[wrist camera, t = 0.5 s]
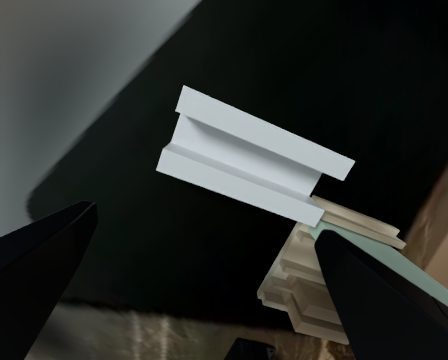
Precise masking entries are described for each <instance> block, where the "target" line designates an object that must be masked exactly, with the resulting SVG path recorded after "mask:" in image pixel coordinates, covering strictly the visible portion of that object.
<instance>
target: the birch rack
mask: <svg viewBox="0 0 448 360" xmlns="http://www.w3.org/2000/svg"><path fill="white" fill-rule="evenodd" d="M311 198H312V199H313V200H314V201H315V202H316V203H317V204H319V205H320V206H321V207H322V208H323V209H324V210H325V212H324V213H323V215H322V217H321V218H320V219H321V220H324V221H327V222H330V223H332V224H335V225H338V226H340V227H343V228H346V229H348V230H351V231H354V232H356V233H359V234H362V235H365V236H367V237H370V238H373V239H375V240H378V241H381V242H383V243H386V244H388V245H392V246H394V247H397V248H400V249H403V248H404V246H405V245H406V243H404V242H403V241H401V240H400V239H398V238H397V237H396V235H397V234H398V233H399V231H400V230H398V229H397V228H395V227H393V226H391V225H388V224H386V223H383V222H381V221H378V220H376V219H373V218H371V217H368V216H365V215H363V214H360V213H358V212H355V211H353V210H350V209H348V208H345V207H343V206H340V205H337V204H335V203H332V202H330V201H327V200H325V199H322V198H320V197H317V196H314V195H313V196H312V197H311ZM308 228H309V225H307V224H304V223H301V222H297V224H296V225H295V227H294V229H293V230H292V232H291V234H290V236H289V237H288V239H287V241H286V243H285V244H284V246H283V248H282V250H281V251H280V253H279V255H278V256H277V258H276V260H275V262H274V263H273V265H272V267H271V269H270V270H269V272H268V274H267V276H266V277H265V279H264V281H263V283H262V284H261V286H260V288H259V289H258V291H257V295H258V298H259V299H262V302H263V305H265V306H269V307H273V308H276V309H280V310H284V311H287V308H286V306H285V303H284V300H283V298H282V295H281V293H282V291H286V292H290V293H293V292H292V290H291V288H290V285H289V283H288V281H287V279H286V278H287V276H288V275H289V274H291V275H294V276H297V277H301V278H304V279H307V280H310V281H313V282H317V283H320V284H323V285H326V284H325V281H324V278H323V275H322V272H321V268H320V265H319V262H318V259H317V255H316V252H315V249H314V243H315V241H316V240H315V239H314V238H313V237H312V235H311V234H310V233H309V232H308ZM287 312H288V311H287Z"/></svg>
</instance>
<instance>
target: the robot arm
mask: <svg viewBox="0 0 448 360" xmlns="http://www.w3.org/2000/svg"><path fill="white" fill-rule="evenodd" d="M97 223H98V217H97V206H96V203H95V202H93V201H84V200H83V201H80V202H77V203H75V204H73V205H71V206H69V207H66V208H64V209H62V210H60V211H57V212H55V213H53V214H51V215H49V216H46V217H44V218H42V219H40V220H37V221H35V222H33V223H31V224H29V225H26V226H24V227H22V228H20V229H17V230H15V231H13V232H11V233H9V234H7V235H4V236H2V237H0V360H24V359H25V357H26V355H27V354H28V352H29V350H30V349H31V347H32V345H33V343H34V342H35V340H36V338H37V337H38V335H39V333H40V331H41V330H42V328H43V326H44V325H45V323H46V321H47V320H48V318H49V316H50V314H51V313H52V311H53V309H54V308H55V306H56V304H57V302H58V301H59V299H60V297H61V296H62V294H63V292H64V291H65V289H66V287H67V285H68V284H69V282H70V280H71V279H72V277H73V275H74V273H75V272H76V270H77V268H78V266H79V264H80V262H81V260H82V258H83V256H84V253H85V251H86V249H87V247H88V244H89V242H90V240H91V238H92V235H93V233H94V231H95V229H96V226H97ZM314 249H315V252H316V255H317V259H318V262H319V265H320V268H321V272H322V275H323V278H324V281H325V284H326V287H327V289H328V292H329V294H330V297H331V299H332V302H333V304H334V307H335V309H336V312H337V314H338V317H339V319H340V321H341V324H342V326H343V329H344V331H345V334H346V336H347V339H348V341H349V344H350V346H351V349H352V351H353V354H354V356H355V358H356V360H448V306H447V305H445V304H444V303H442V302H441V301H439V300H438V299H436V298H435V297H433V296H430V294H428V293H427V292H425V291H424V290H422V289H421V288H419V287H418V286H416V285H415V284H413V283H412V282H410V281H409V280H407V279H406V278H404V277H403V276H401V275H400V274H398V273H397V272H395V271H394V270H392V269H391V268H389V267H388V266H386V265H385V264H383V263H382V262H380V261H379V260H377V259H376V258H374V257H373V256H371V255H370V254H368V253H367V252H365V251H364V250H362V249H361V248H359V247H358V246H356V245H355V244H353V243H352V242H350V241H349V240H347V239H346V238H344V237H343V236H341V235H340V234H338V233H337V232H335V231H334V230H329V229H323V230H322V231H321V232H320V234H319V236H318V238H317V239H316V241H315V243H314ZM274 352H275V349H274V347H273V346H269V345H265V344H260V343H256V342H252V341H248V340H243V339H236V340H235V342H234V343H233V345H232V347H231V349H230V350H229V352H228V354H227V355H226V357H225V359H224V360H269V359H270V358H271V356H272V355H273V354H274Z"/></svg>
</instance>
